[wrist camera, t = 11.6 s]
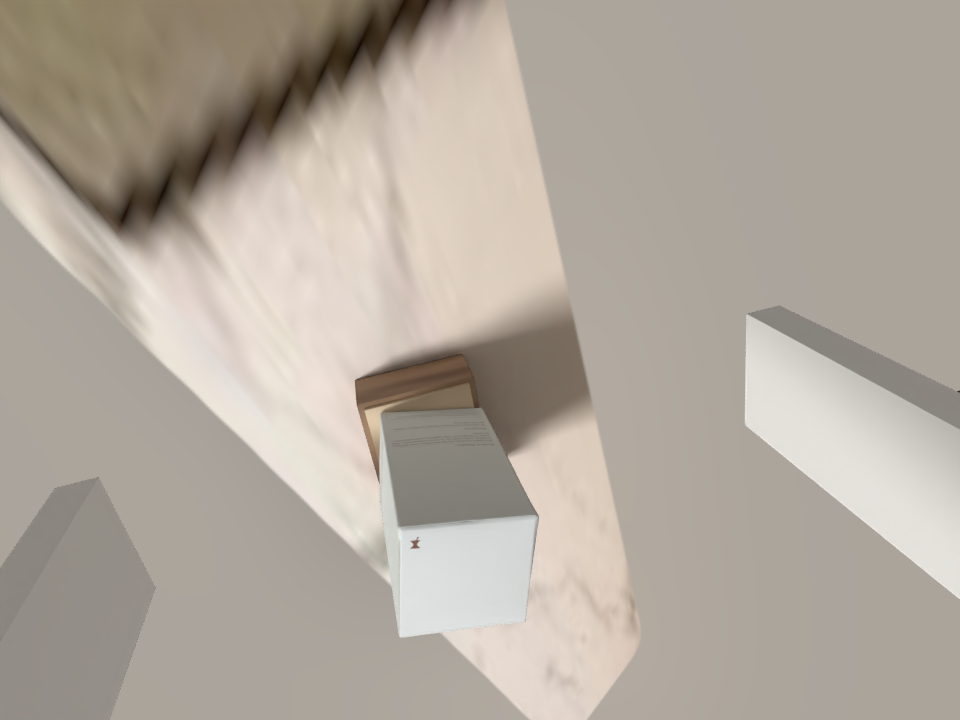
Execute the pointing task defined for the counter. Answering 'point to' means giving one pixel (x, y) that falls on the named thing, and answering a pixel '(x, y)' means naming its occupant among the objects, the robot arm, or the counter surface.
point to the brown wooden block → (413, 394)
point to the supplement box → (453, 522)
